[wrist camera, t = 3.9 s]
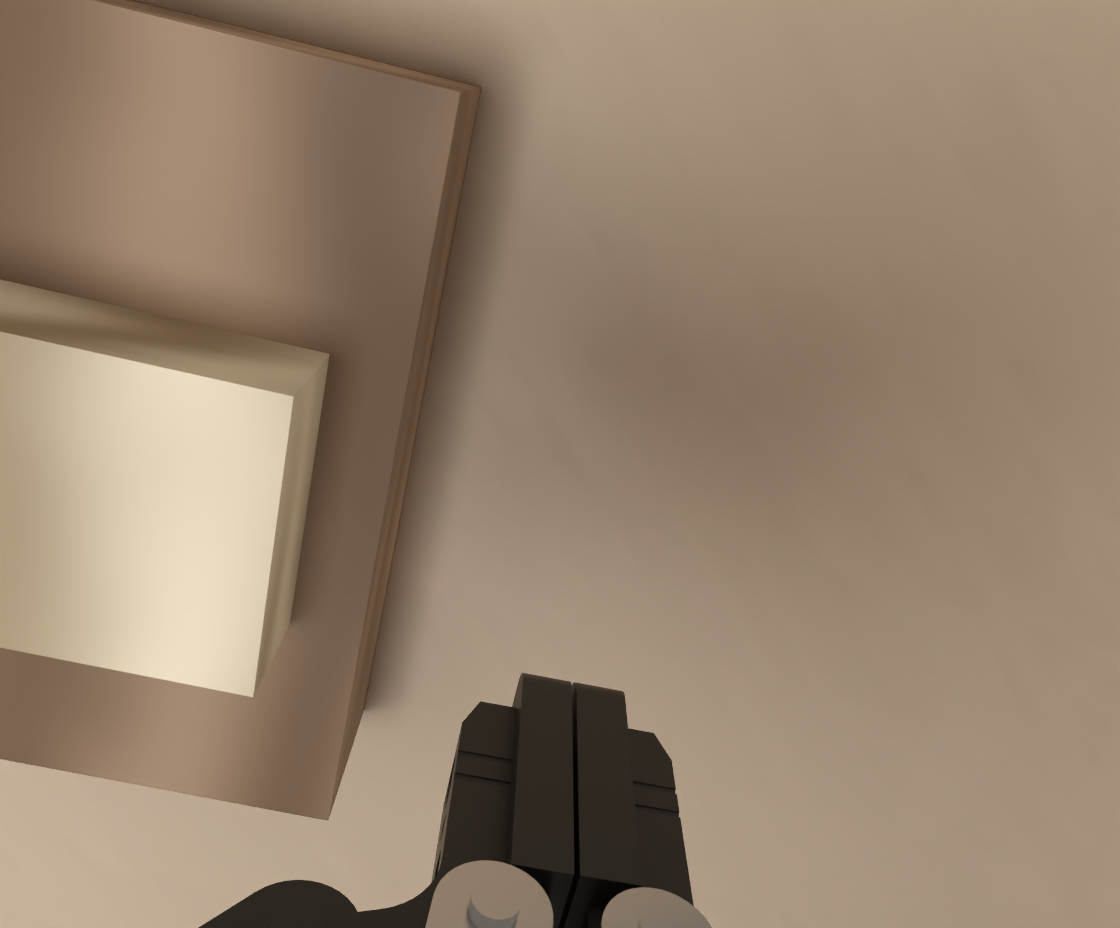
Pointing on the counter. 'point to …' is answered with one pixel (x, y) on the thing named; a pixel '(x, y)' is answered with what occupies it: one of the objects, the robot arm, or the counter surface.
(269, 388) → the ash tile
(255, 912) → the robot arm
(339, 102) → the walnut step
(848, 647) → the counter surface
